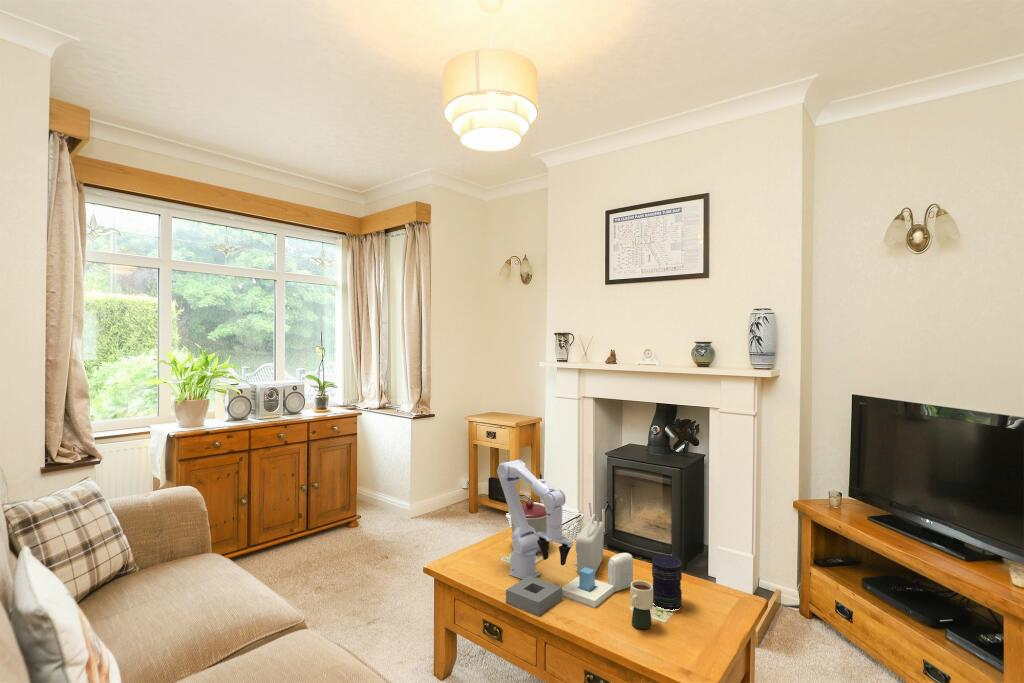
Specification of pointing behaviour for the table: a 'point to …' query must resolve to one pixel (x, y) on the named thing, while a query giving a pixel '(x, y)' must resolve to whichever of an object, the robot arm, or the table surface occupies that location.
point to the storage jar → (667, 582)
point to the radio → (590, 544)
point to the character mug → (641, 603)
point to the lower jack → (587, 593)
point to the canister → (534, 518)
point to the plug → (587, 579)
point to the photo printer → (620, 571)
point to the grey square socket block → (534, 595)
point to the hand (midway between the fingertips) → (554, 561)
